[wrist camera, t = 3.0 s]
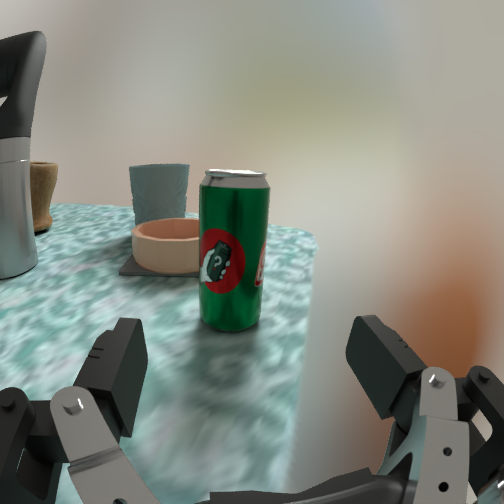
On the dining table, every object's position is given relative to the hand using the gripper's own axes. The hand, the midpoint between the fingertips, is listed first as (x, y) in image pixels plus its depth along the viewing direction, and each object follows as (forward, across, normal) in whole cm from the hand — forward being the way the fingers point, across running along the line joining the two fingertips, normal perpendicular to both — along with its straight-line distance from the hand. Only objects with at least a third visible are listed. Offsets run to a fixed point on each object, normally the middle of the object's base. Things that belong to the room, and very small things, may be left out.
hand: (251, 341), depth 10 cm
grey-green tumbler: (+38, +11, +7) cm, 40 cm away
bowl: (+26, +6, +6) cm, 27 cm away
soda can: (+12, 0, +7) cm, 14 cm away
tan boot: (+43, +42, +7) cm, 60 cm away
